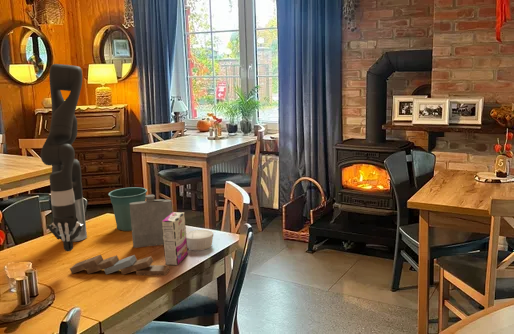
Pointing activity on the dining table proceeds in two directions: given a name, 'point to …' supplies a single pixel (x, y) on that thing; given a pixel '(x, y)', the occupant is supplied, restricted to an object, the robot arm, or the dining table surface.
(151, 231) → the hip flask
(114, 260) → the domino
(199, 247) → the ramekin
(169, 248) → the candy bar box
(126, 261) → the domino
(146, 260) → the domino
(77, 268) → the domino
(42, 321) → the dining table surface
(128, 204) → the flower pot
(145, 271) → the domino
